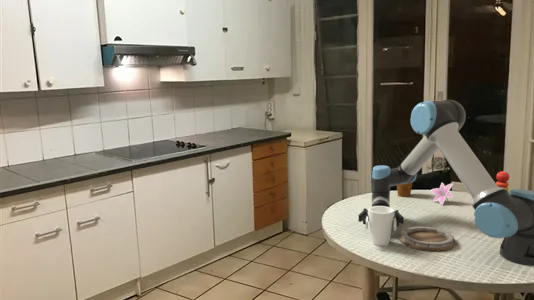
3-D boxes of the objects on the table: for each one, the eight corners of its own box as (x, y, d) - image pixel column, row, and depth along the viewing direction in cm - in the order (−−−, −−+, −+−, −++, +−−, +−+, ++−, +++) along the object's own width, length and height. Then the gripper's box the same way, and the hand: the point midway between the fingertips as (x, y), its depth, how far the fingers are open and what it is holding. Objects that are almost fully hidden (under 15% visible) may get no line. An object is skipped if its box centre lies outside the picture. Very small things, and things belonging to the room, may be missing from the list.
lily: (429, 200, 222) (424, 185, 217) (452, 191, 220) (447, 177, 215) (438, 214, 211) (433, 199, 207) (462, 205, 209) (458, 190, 205)
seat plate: (467, 244, 161) (468, 238, 160) (429, 255, 152) (429, 249, 151) (425, 228, 178) (425, 222, 178) (388, 237, 169) (388, 231, 169)
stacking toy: (512, 215, 192) (515, 173, 189) (493, 214, 194) (496, 173, 191) (506, 209, 200) (509, 169, 197) (488, 209, 202) (490, 169, 198)
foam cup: (388, 249, 158) (389, 214, 156) (364, 244, 163) (364, 211, 161) (396, 240, 166) (397, 207, 164) (372, 236, 171) (373, 204, 169)
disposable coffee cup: (416, 195, 228) (417, 172, 226) (408, 199, 221) (409, 176, 219) (399, 192, 234) (400, 170, 232) (391, 195, 227) (391, 173, 225)
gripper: (408, 218, 178) (412, 238, 157) (353, 215, 184) (350, 234, 163) (408, 200, 177) (412, 218, 156) (353, 198, 183) (350, 214, 161)
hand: (380, 226), depth 159 cm, fingers closed on foam cup, 9 cm apart
